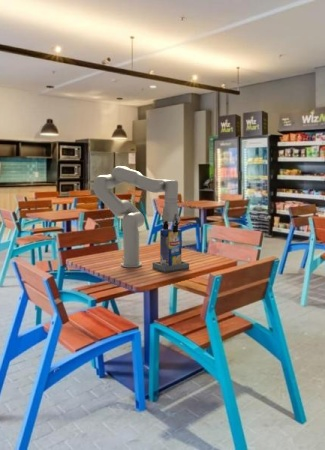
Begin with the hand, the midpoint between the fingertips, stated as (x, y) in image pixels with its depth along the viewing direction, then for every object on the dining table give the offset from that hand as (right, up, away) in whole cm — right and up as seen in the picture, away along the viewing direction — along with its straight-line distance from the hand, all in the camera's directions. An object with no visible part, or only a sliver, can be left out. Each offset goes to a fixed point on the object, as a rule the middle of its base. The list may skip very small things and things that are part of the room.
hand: (170, 231), depth 243 cm
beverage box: (0, -21, +3) cm, 21 cm away
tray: (0, -22, +3) cm, 22 cm away
